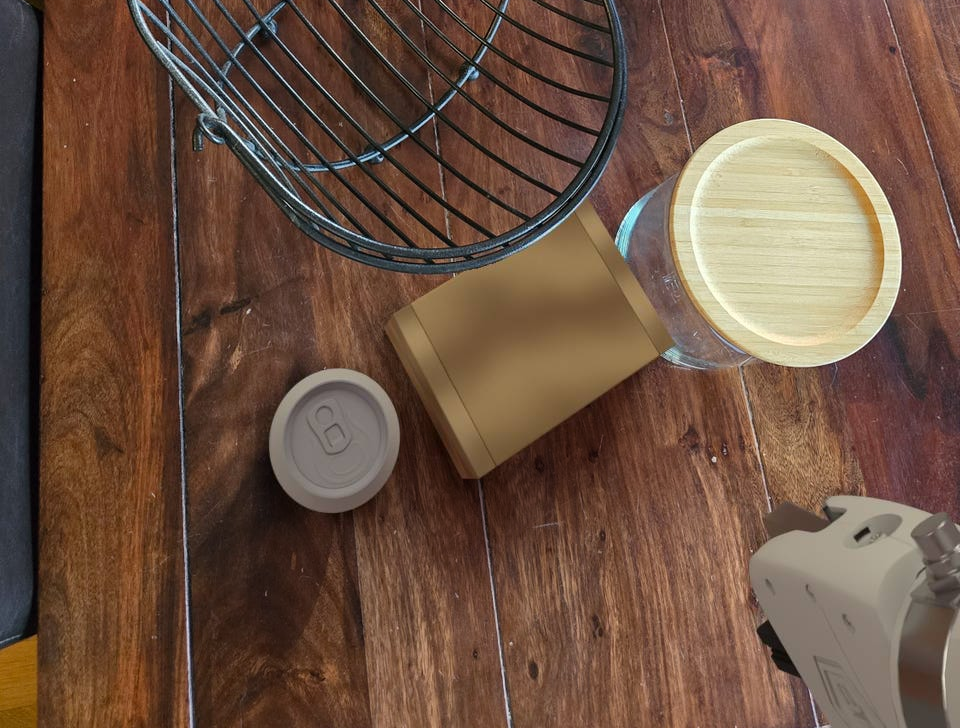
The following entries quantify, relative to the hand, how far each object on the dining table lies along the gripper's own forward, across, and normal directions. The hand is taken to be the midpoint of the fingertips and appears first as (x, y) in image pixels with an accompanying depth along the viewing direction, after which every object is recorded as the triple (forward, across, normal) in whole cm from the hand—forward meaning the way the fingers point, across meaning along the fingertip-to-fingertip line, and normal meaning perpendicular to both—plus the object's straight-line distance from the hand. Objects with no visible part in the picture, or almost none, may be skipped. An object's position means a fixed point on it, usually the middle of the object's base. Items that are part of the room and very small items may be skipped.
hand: (792, 626), depth 49 cm
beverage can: (+22, -17, -13) cm, 31 cm away
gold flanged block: (+22, -16, 0) cm, 27 cm away
